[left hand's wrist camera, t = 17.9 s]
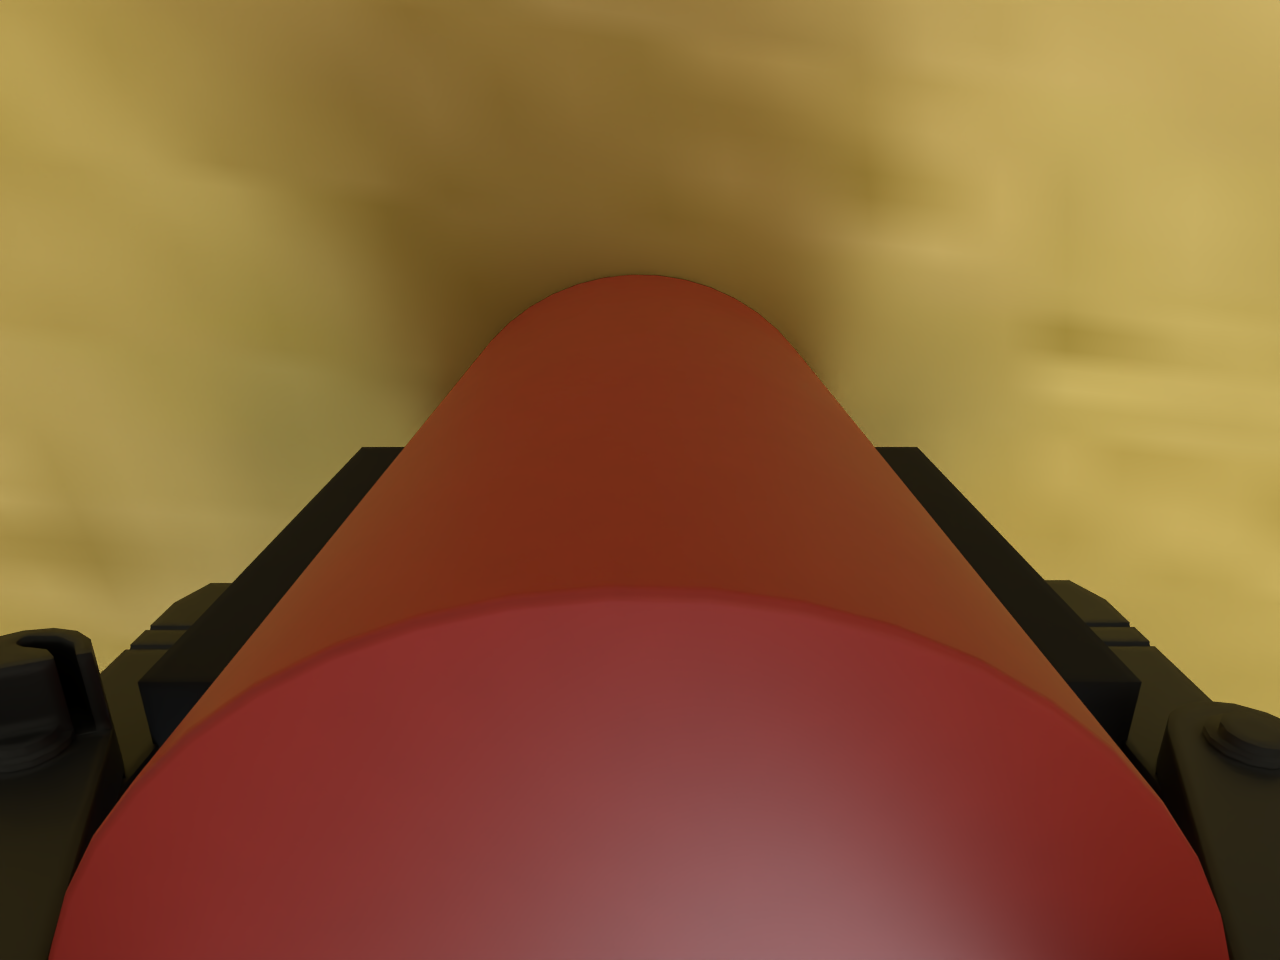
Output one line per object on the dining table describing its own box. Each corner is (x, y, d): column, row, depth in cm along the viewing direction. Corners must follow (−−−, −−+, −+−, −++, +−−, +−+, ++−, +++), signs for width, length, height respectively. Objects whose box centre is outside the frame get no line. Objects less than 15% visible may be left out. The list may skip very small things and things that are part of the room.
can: (470, 640, 18) (195, 1429, 7) (424, 283, 15) (-152, 617, 4) (823, 627, 18) (1129, 1408, 7) (838, 265, 15) (1388, 563, 4)
